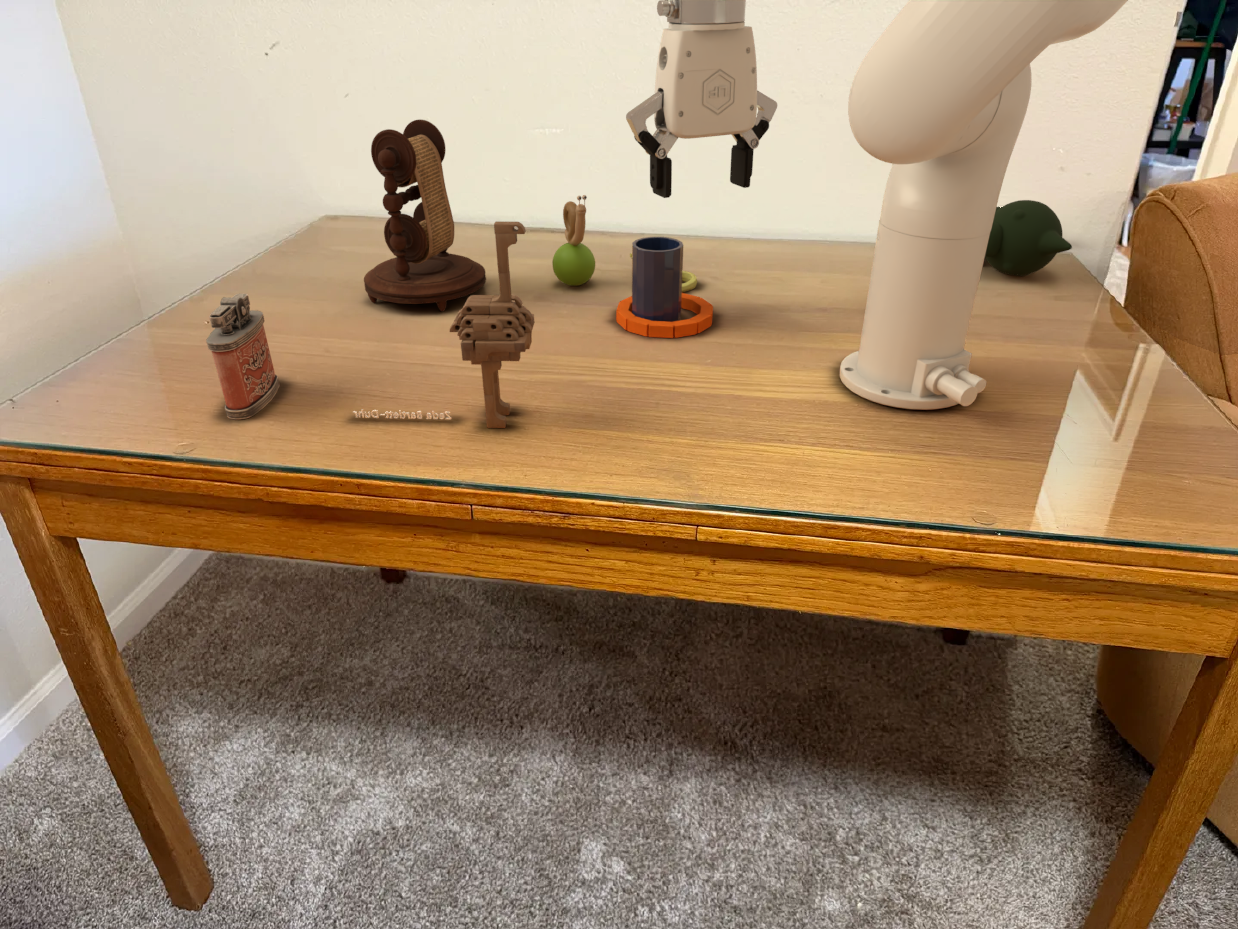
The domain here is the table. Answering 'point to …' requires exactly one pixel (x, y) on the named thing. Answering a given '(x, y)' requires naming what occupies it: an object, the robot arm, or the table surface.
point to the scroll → (418, 223)
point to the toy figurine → (1024, 238)
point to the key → (687, 280)
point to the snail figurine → (574, 248)
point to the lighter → (242, 357)
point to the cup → (657, 278)
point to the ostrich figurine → (490, 332)
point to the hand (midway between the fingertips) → (701, 190)
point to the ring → (663, 327)
